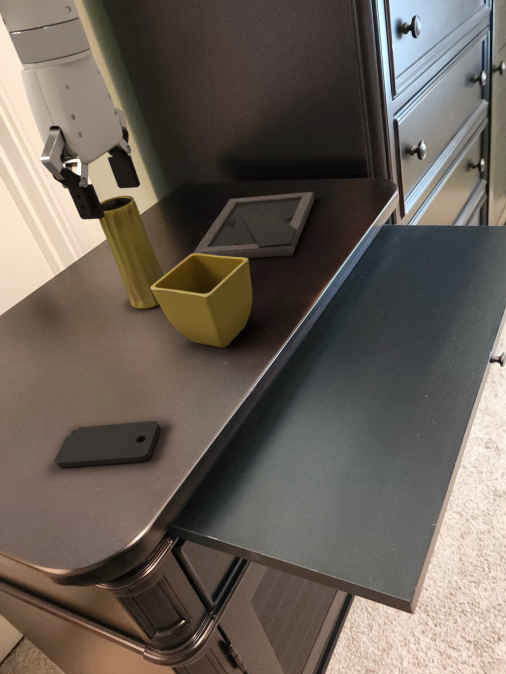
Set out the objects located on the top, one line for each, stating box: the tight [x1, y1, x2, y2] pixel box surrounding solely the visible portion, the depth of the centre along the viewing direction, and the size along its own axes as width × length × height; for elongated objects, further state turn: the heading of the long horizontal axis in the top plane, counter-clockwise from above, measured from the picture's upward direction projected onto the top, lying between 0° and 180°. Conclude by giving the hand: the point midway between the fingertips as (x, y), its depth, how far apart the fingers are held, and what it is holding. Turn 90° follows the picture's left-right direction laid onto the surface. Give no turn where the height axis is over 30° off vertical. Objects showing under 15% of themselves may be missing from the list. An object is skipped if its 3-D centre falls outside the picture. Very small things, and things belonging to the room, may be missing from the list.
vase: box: [98, 195, 165, 310], centre depth 73 cm, size 6×6×14 cm
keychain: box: [54, 420, 161, 468], centre depth 54 cm, size 5×1×10 cm
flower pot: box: [150, 252, 253, 349], centre depth 64 cm, size 9×9×9 cm
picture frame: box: [193, 191, 315, 259], centre depth 89 cm, size 16×2×21 cm
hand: (112, 201), depth 68 cm, fingers open, 9 cm apart
